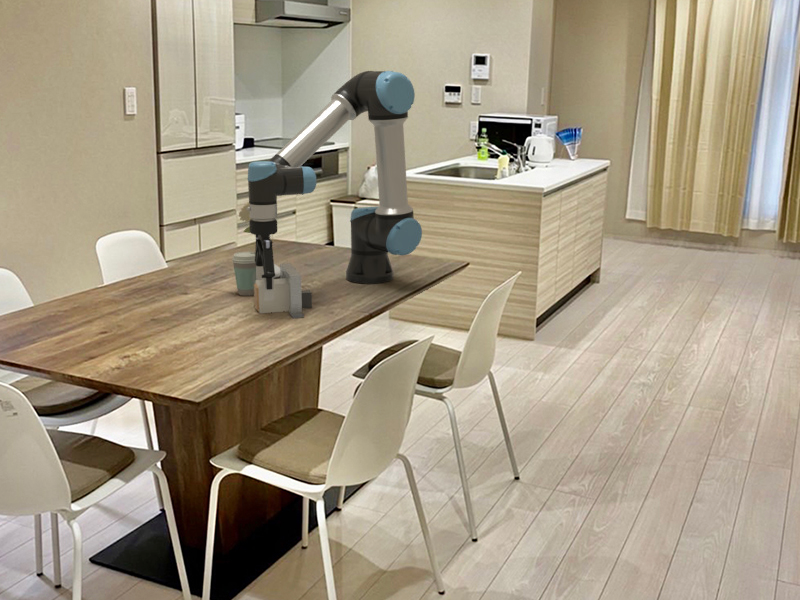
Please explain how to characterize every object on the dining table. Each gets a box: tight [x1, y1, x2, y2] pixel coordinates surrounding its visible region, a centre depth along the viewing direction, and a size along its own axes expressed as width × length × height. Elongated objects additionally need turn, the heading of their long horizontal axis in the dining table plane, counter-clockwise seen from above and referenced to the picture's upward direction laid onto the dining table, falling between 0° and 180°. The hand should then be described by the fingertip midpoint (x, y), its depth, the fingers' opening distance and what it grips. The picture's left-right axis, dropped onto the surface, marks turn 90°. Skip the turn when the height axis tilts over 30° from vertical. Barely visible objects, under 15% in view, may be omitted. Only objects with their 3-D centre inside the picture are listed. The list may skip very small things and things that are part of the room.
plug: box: [253, 278, 313, 314], centre depth 248 cm, size 16×6×8 cm, turn 107°
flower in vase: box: [238, 201, 280, 279], centre depth 281 cm, size 13×11×25 cm
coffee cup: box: [231, 251, 256, 297], centre depth 264 cm, size 8×9×12 cm
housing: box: [279, 262, 305, 319], centre depth 249 cm, size 3×21×11 cm, turn 17°
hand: (265, 294), depth 247 cm, fingers open, 13 cm apart
